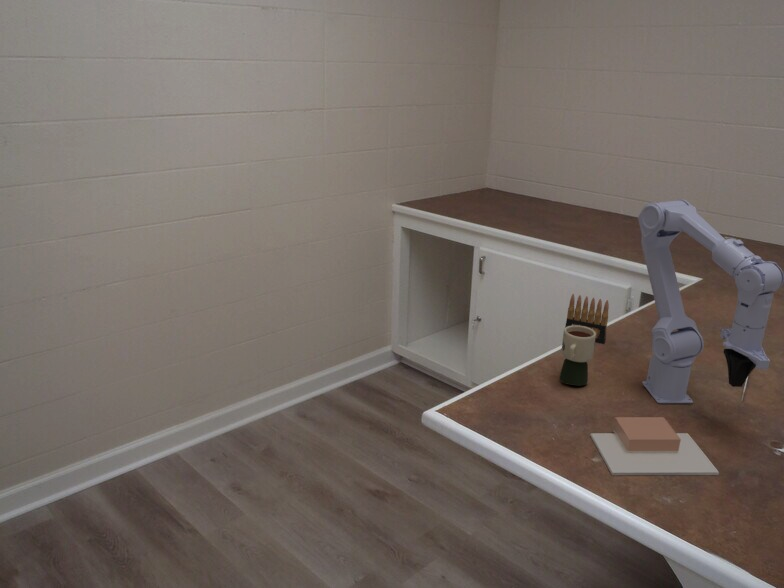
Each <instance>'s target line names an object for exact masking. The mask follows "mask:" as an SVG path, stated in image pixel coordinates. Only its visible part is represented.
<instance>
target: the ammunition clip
mask: <svg viewBox="0 0 784 588" xmlns="http://www.w3.org/2000/svg"><path fill="white" fill-rule="evenodd" d="M575 301H576V304H575ZM602 302H603V301H602V299H601V298H599V300H598V302H597V306H596V300H595V297H592V298H591V301H590V305H589V298H588V296H585V298H584V302H583V303H582V296H581V294H580V295H578V298H577V300H575V294H574V293H572V294H571V297H570V300H569V306H568V309H567V317H566V321H565V327H568V326H573V325H576V326H585V327H588V328H591V329H592V330H594V331H595V332H596V337H595V343H596V344H601V345H605V344H606V340H607V329H608V320H609V308H610V307H609V305H610V304H609V300H606V301H605V303H604V306H603V305H602ZM582 304H583V305H582ZM602 306H603V307H602ZM595 307H596V308H595ZM602 308H603V310H602ZM565 327H564V328H565Z"/></svg>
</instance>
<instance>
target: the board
mask: <svg viewBox="0 0 784 588" xmlns="http://www.w3.org/2000/svg"><path fill="white" fill-rule="evenodd" d="M675 433H676V432H675ZM676 434H677V435H678V436H679V438H680V439H681V441H680V446H679V451H678V453H627V452H626V450H625V449H624V447H623V445H622V444H621V442H620V440H619V439H618V437H617V436H616V434H615V432H613V433H608V432H604V433H601V432H600V433H599V432H597V433H596V432H595V433H594V432H593V433H590V434H589V435H590V438H591V440H592V442H593V443H594V445H595V447H596V449H597V450H598V452H599V454H600V456H601V458H602V460H603V461H604V463H605V466H606V467H607V468H608V470H609V472H610V474H611V476H719V475H720V472H719V470H718V469H717V468H716V467H715V465H714V464H713V463H712V462H711V460H710V459H709V458H708V456H707V455H706V454H705V453H704V452H703V450H702V449H701V447H699V445H698V444H697V443H696V441H694V439H693V438H692V437H691V436H690V434H689V433H687V432H685V433H684V432H682V433H680V432H679V433H678V432H677V433H676Z"/></svg>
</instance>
